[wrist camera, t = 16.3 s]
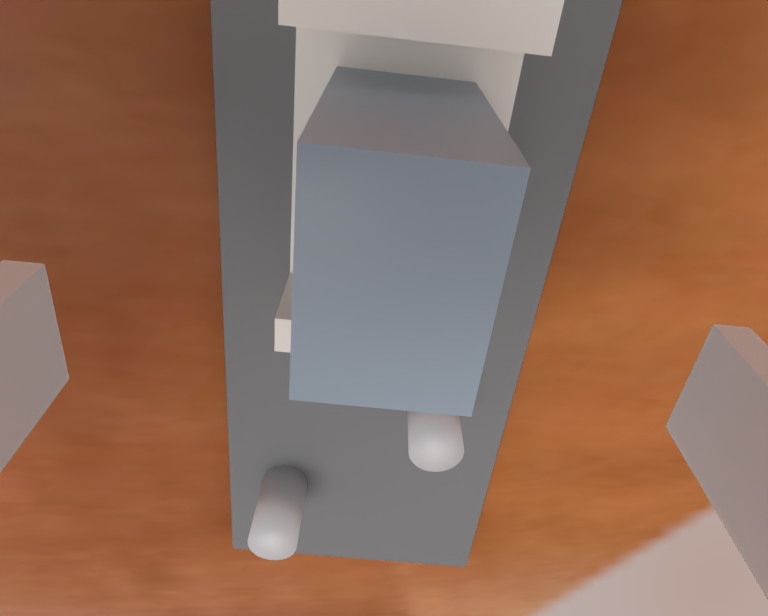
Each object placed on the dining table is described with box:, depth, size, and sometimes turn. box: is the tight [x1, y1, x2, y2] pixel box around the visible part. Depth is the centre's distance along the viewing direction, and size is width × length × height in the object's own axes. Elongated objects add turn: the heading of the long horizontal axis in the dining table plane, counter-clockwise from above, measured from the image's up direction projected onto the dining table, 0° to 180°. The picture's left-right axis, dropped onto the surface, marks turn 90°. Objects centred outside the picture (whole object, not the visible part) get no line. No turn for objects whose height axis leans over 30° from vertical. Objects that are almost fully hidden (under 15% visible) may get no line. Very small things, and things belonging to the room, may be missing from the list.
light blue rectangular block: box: [289, 66, 531, 417], centre depth 19 cm, size 5×7×10 cm
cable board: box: [210, 0, 623, 567], centre depth 26 cm, size 14×32×5 cm, turn 174°
